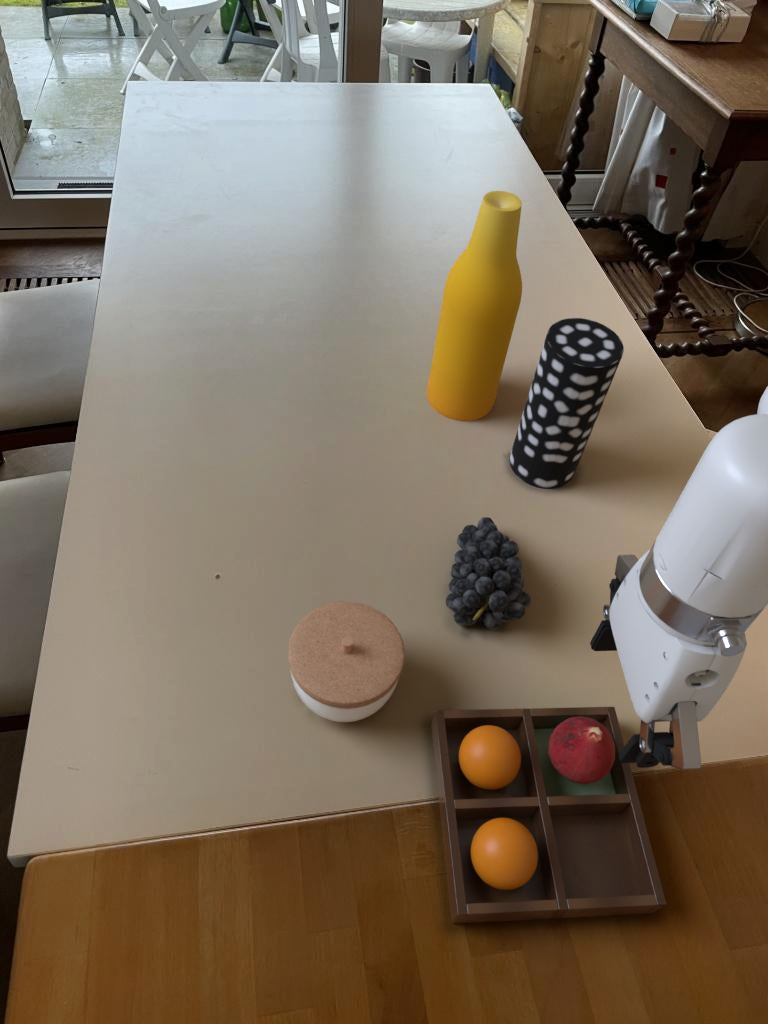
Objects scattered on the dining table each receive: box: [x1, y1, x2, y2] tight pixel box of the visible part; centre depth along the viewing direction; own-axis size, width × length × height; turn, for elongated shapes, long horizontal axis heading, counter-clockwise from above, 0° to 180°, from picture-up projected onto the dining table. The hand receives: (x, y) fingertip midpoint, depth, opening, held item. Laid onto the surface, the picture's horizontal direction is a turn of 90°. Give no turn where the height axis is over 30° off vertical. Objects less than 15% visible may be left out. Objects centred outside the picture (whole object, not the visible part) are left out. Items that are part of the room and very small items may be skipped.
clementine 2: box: [471, 818, 538, 890], centre depth 66 cm, size 6×6×6 cm
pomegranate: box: [548, 716, 615, 784], centre depth 71 cm, size 6×6×8 cm
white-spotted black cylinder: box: [508, 317, 625, 490], centre depth 92 cm, size 8×8×20 cm
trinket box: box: [287, 600, 406, 723], centre depth 74 cm, size 11×11×9 cm
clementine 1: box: [459, 725, 521, 790], centre depth 71 cm, size 6×6×6 cm
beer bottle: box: [426, 190, 523, 422], centre depth 95 cm, size 9×9×29 cm
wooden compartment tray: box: [430, 706, 667, 925], centre depth 70 cm, size 17×17×4 cm
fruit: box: [445, 516, 532, 631], centre depth 84 cm, size 9×8×15 cm
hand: (622, 700), depth 63 cm, fingers open, 9 cm apart
